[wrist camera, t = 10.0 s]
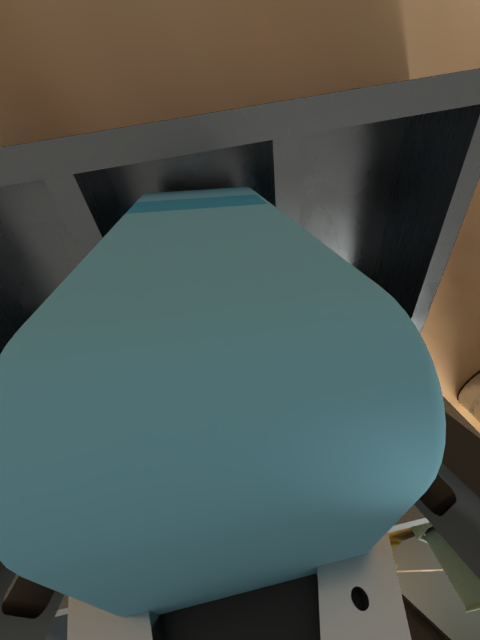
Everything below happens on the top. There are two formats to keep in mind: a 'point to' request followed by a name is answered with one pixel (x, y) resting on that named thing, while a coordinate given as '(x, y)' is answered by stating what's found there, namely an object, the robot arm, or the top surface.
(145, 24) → the top surface
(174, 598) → the blue flat rounded slab
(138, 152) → the rack
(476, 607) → the tea set
